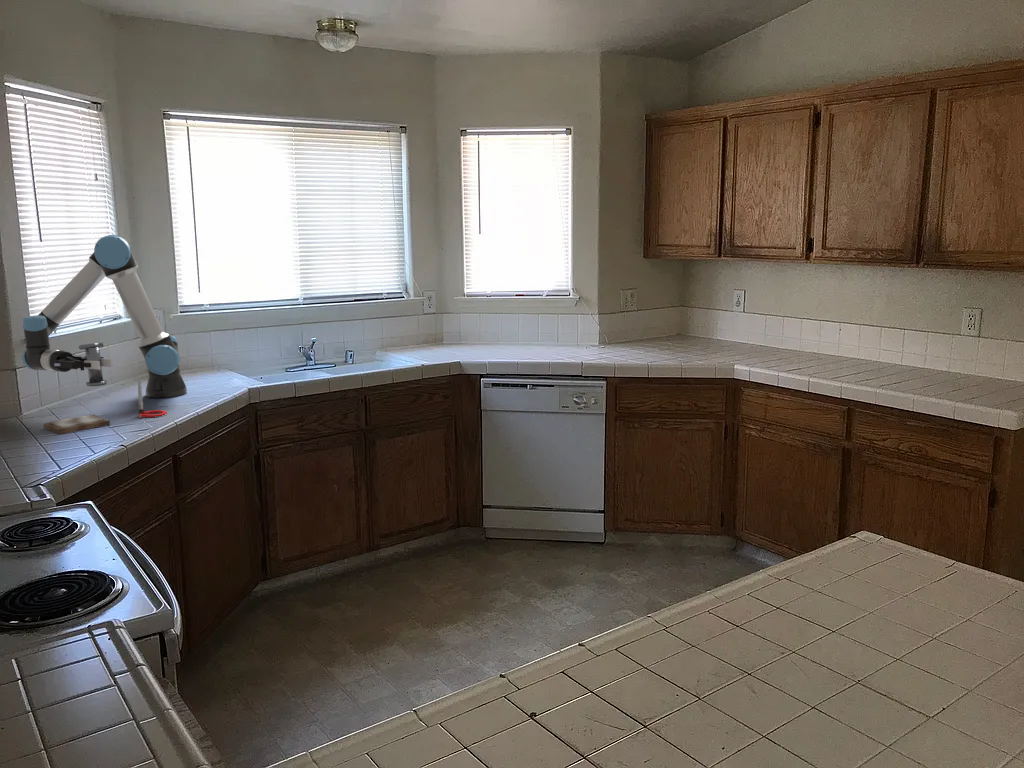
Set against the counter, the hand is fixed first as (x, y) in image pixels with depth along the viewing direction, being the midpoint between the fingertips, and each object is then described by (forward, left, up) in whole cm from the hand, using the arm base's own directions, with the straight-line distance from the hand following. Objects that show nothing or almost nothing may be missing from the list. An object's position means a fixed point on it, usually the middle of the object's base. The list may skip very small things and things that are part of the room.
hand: (105, 364), depth 285 cm
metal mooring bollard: (+2, -5, -7) cm, 9 cm away
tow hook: (-12, +6, -20) cm, 24 cm away
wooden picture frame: (+12, +2, -19) cm, 23 cm away
